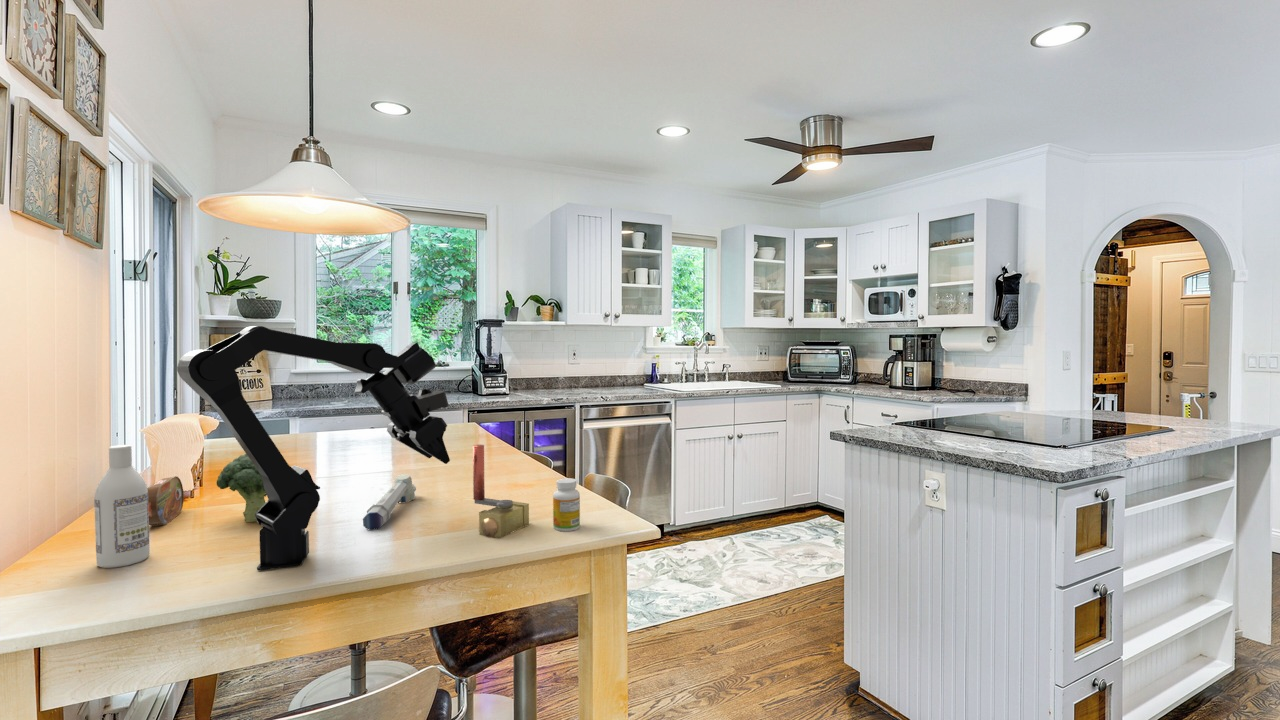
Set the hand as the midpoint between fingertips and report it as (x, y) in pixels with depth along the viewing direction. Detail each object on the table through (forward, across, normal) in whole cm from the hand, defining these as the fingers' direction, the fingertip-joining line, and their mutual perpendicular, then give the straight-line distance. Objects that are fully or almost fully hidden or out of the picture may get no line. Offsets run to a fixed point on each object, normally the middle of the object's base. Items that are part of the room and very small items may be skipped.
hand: (439, 459), depth 122 cm
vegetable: (-6, +28, +31) cm, 43 cm away
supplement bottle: (+23, -17, -8) cm, 30 cm away
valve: (+17, -10, 0) cm, 20 cm away
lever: (+12, -8, -1) cm, 14 cm away
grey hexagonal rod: (+9, +17, +12) cm, 22 cm away
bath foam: (-16, +16, +49) cm, 54 cm away
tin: (-14, +41, +44) cm, 61 cm away
